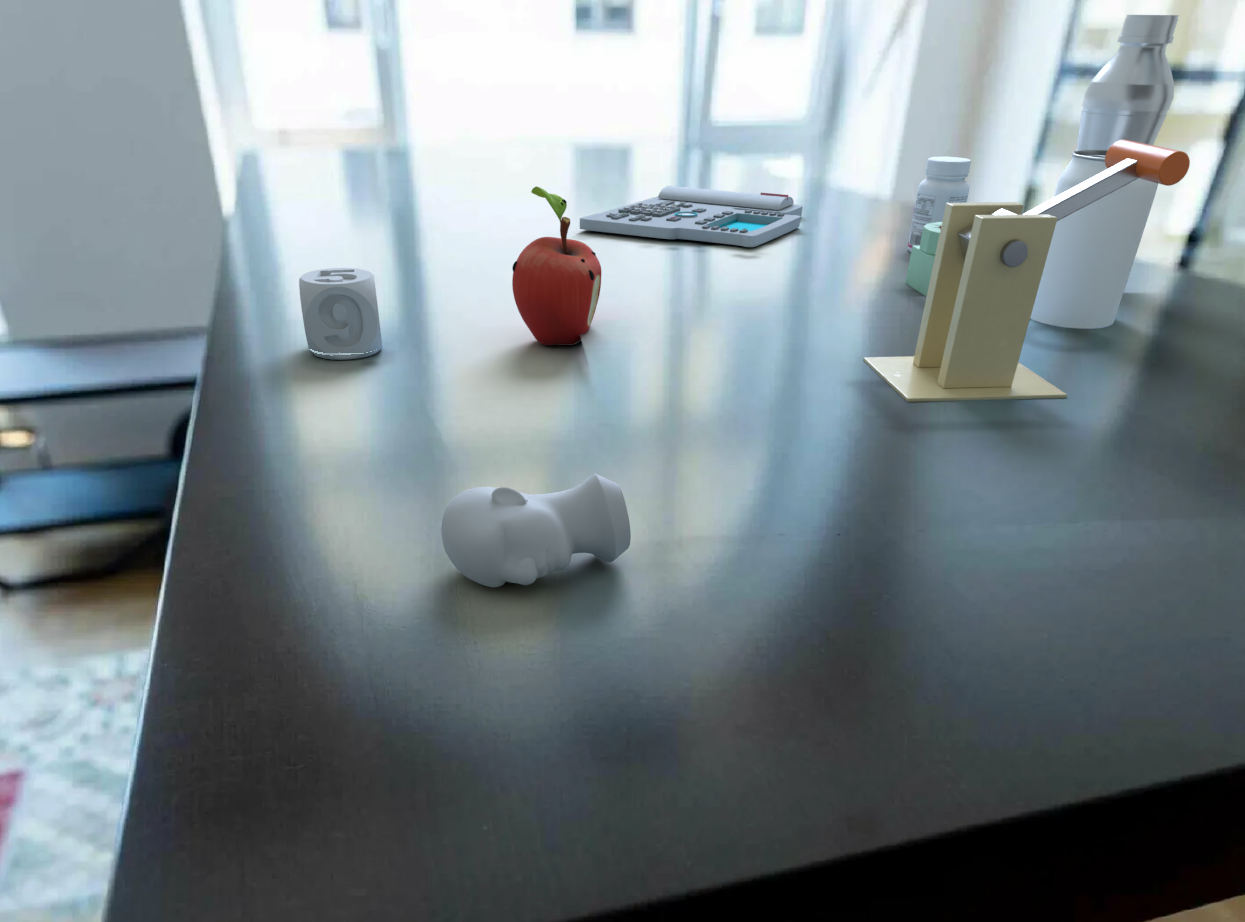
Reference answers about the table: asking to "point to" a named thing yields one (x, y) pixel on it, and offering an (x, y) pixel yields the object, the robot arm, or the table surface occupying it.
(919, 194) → the pill bottle
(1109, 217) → the can
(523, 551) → the white mannequin head
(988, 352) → the switch bracket
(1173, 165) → the switch lever
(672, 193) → the office telephone
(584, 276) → the apple
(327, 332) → the die
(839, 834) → the table surface
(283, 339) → the table surface
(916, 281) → the button block
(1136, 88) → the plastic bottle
